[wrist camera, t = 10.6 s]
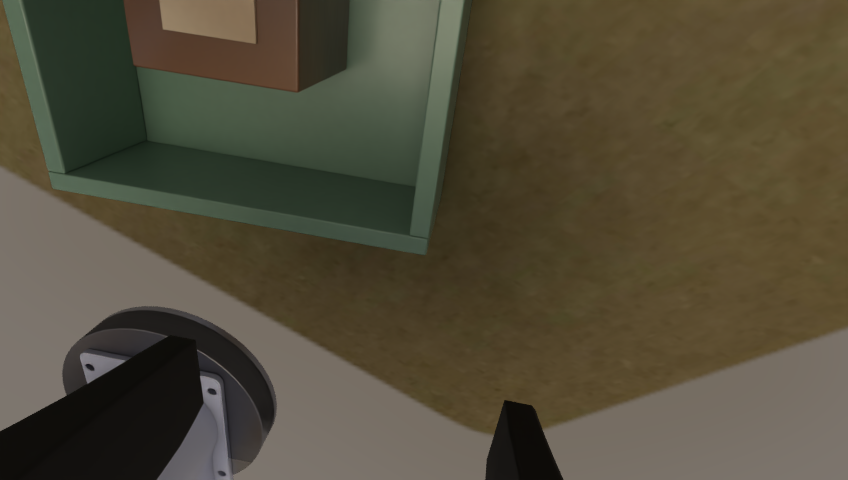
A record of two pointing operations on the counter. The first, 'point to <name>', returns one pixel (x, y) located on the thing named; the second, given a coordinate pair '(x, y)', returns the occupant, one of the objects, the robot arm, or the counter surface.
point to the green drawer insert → (253, 123)
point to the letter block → (241, 39)
